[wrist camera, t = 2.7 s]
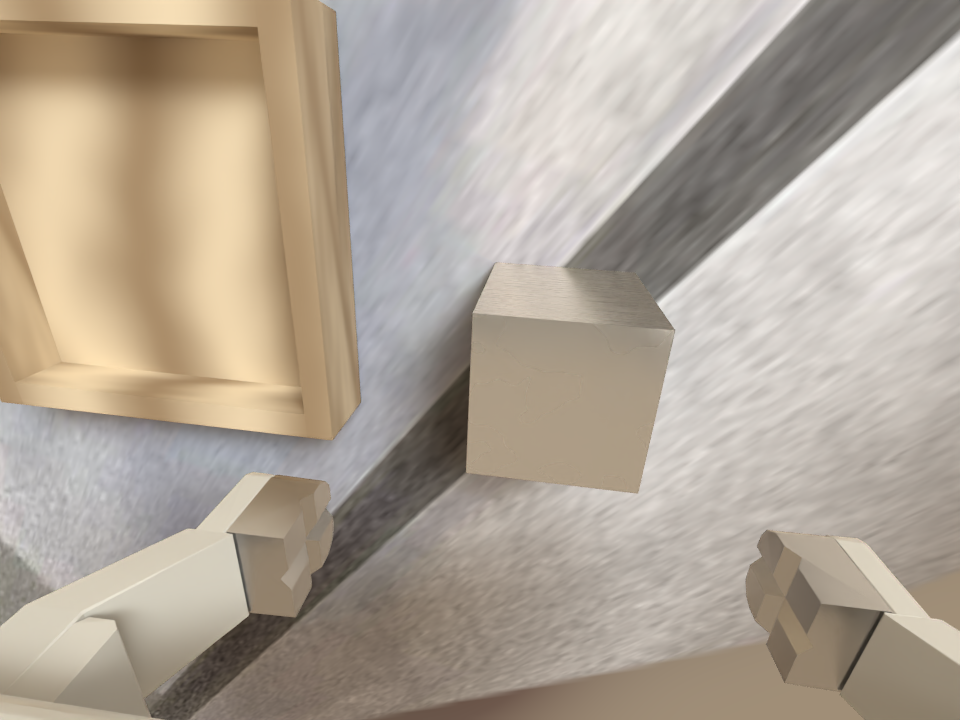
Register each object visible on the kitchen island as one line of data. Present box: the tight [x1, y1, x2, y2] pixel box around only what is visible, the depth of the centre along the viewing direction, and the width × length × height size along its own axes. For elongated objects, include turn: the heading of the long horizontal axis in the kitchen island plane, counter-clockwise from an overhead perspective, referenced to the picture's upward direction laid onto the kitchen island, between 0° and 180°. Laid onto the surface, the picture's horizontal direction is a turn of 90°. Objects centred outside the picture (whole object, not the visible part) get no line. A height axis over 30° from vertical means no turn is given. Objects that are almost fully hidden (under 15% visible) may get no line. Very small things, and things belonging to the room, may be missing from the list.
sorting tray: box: [0, 0, 361, 440], centre depth 17 cm, size 14×14×3 cm
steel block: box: [466, 262, 675, 493], centre depth 16 cm, size 5×5×6 cm
